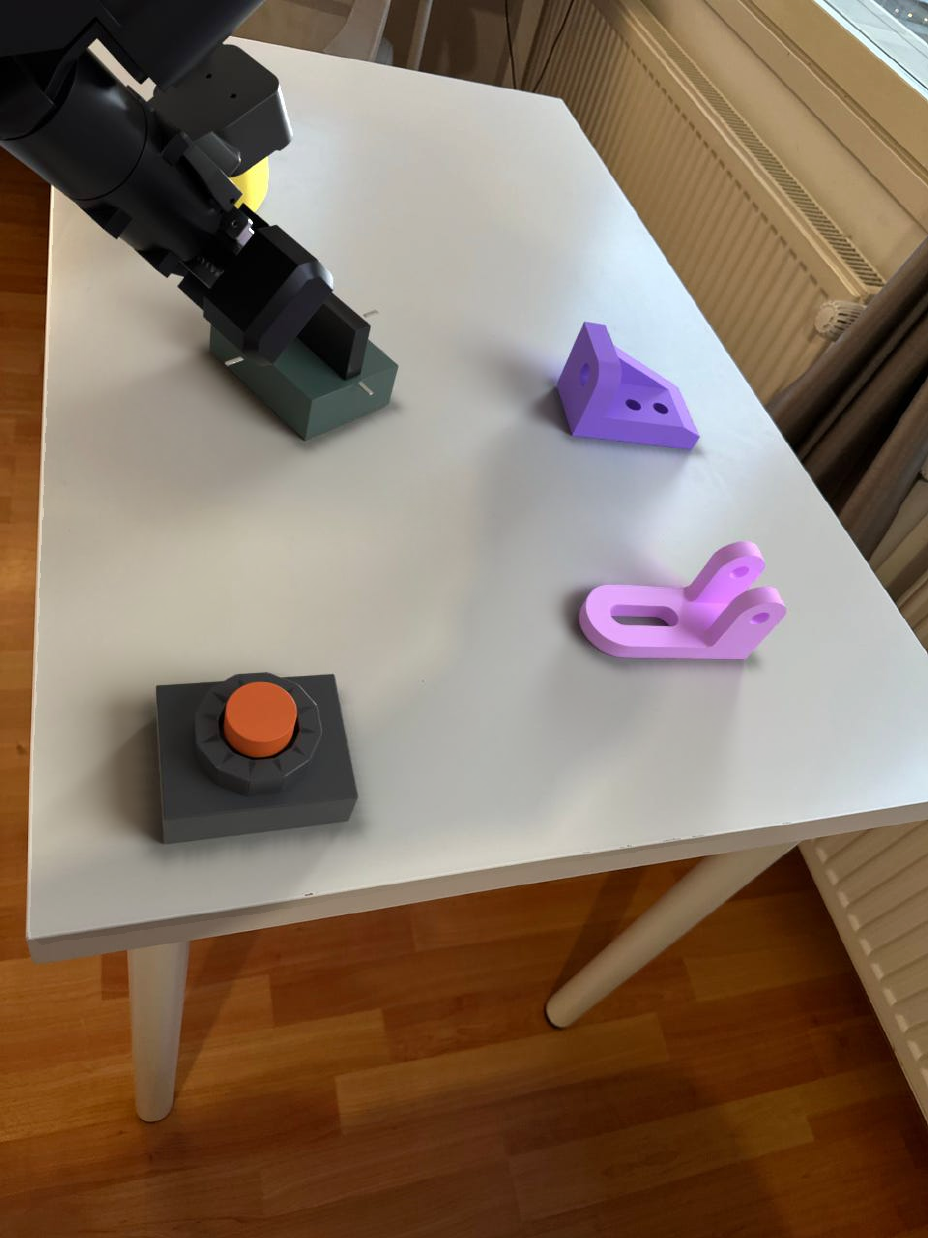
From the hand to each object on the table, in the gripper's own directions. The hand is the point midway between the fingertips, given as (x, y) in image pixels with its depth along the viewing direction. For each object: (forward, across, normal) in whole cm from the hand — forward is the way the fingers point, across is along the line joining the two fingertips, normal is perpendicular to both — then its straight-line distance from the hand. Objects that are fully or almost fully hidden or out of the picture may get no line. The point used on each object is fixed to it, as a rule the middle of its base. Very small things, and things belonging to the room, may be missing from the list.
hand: (261, 291), depth 56 cm
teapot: (+21, +28, -3) cm, 35 cm away
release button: (-6, -22, +17) cm, 29 cm away
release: (-3, -22, +21) cm, 30 cm away
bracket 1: (+31, -14, -13) cm, 37 cm away
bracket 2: (+19, -31, -1) cm, 36 cm away
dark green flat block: (+15, +4, +3) cm, 15 cm away
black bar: (+12, +4, 0) cm, 12 cm away
